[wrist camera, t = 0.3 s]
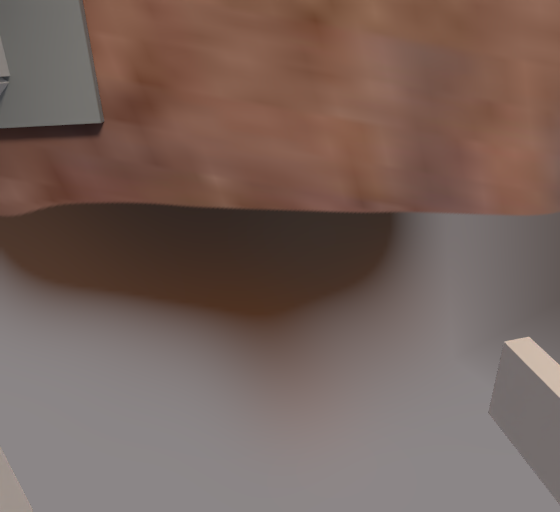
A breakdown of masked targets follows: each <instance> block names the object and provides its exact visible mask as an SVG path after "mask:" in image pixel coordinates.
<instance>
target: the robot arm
mask: <svg viewBox="0 0 560 512" xmlns="http://www.w3.org/2000/svg"><path fill="white" fill-rule="evenodd" d="M488 413H489V414H490V416H491V417H492V418H493V419H494V421H495V422H496V423H497V425H498V426H499V427H500V429H501V430H502V431H503V432H504V434H505V435H506V436H507V437H508V439H509V440H510V441H511V443H512V444H513V445H514V446H515V448H516V449H517V450H518V452H519V453H520V454H521V456H522V457H523V458H524V459H525V461H526V462H527V463H528V464H529V466H530V467H531V468H532V470H533V471H534V472H535V474H536V475H537V476H538V477H539V479H540V480H541V481H542V483H543V484H544V485H545V486H546V488H547V489H548V490H549V492H550V493H551V494H552V495H553V497H554V498H555V499H556V500H557V502H558V503H559V504H560V365H559V364H558V363H557V362H555V361H554V360H553V359H552V358H551V357H550V356H549V355H548V354H547V353H546V352H545V351H544V350H543V349H541V348H540V347H539V346H538V345H537V344H536V343H535V342H534V341H533V340H532V339H531V338H530V337H526V338H521V339H516V340H510V341H505V342H504V344H503V348H502V353H501V357H500V362H499V367H498V371H497V375H496V380H495V384H494V389H493V393H492V398H491V402H490V407H489V411H488ZM32 511H33V509H32V507H31V506H30V504H29V502H28V500H27V498H26V496H25V494H24V492H23V490H22V488H21V486H20V484H19V482H18V480H17V478H16V477H15V475H14V473H13V470H12V469H11V467H10V465H9V463H8V461H7V459H6V457H5V455H4V453H3V451H2V449H1V447H0V512H32Z"/></svg>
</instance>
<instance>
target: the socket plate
mask: <svg viewBox="0 0 560 512" xmlns="http://www.w3.org/2000/svg"><path fill="white" fill-rule="evenodd" d="M102 122H104V118H103V112H102V106H101V101H100V95H99V90H98V84H97V78H96V73H95V67H94V62H93V56H92V51H91V45H90V39H89V34H88V28H87V23H86V17H85V11H84V6H83V0H0V128H14V127H33V126H52V125H71V124H90V123H102Z"/></svg>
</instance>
